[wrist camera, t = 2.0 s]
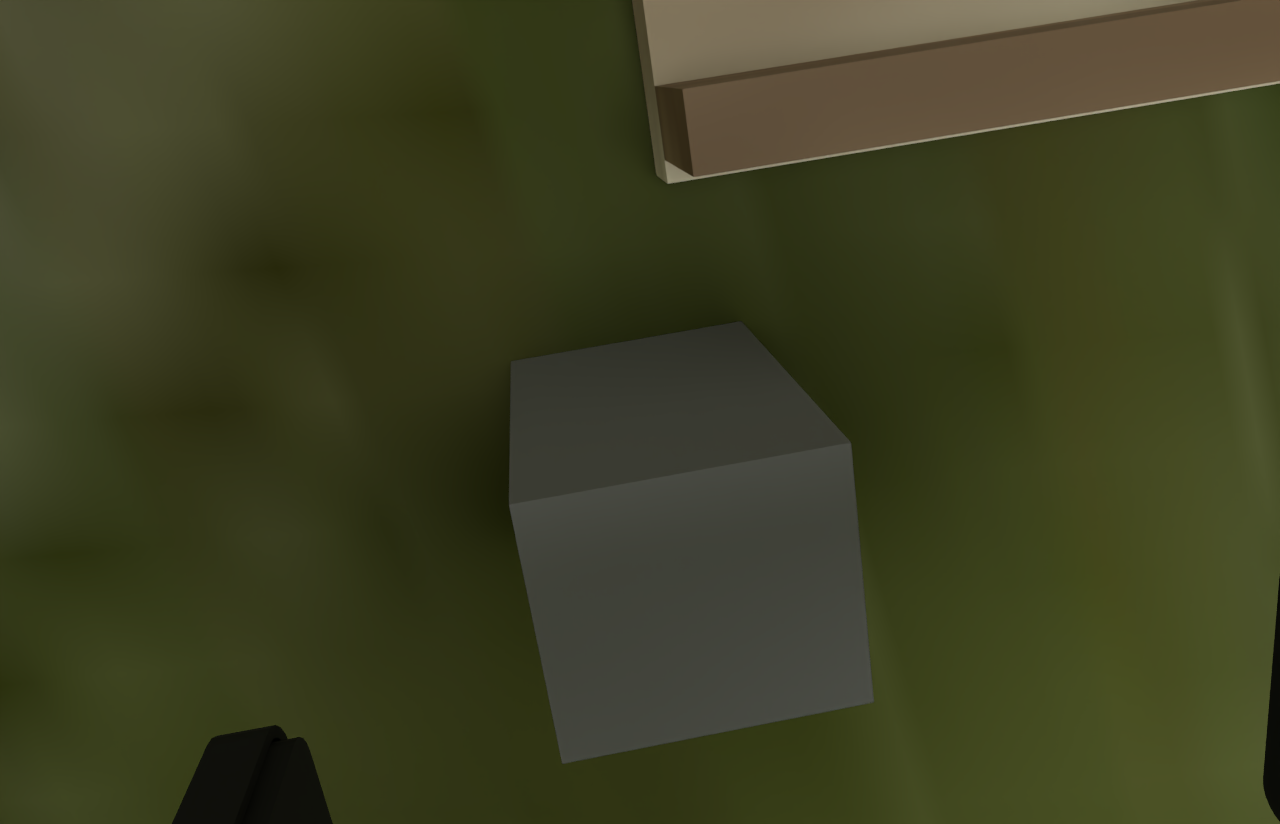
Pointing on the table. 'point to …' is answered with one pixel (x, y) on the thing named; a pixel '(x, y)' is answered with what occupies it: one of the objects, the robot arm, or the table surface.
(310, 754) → the robot arm
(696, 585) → the grey plug block
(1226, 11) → the cream shelf rack
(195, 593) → the table surface
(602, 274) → the table surface
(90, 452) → the table surface
